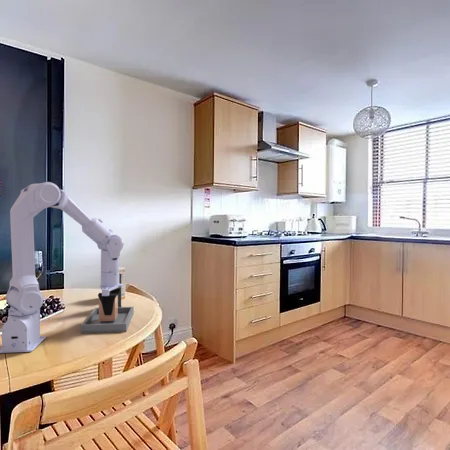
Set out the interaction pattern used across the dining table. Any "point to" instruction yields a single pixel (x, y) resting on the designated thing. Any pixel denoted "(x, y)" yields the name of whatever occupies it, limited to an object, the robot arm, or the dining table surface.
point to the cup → (108, 317)
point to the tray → (108, 322)
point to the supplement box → (123, 281)
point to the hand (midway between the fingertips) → (109, 312)
